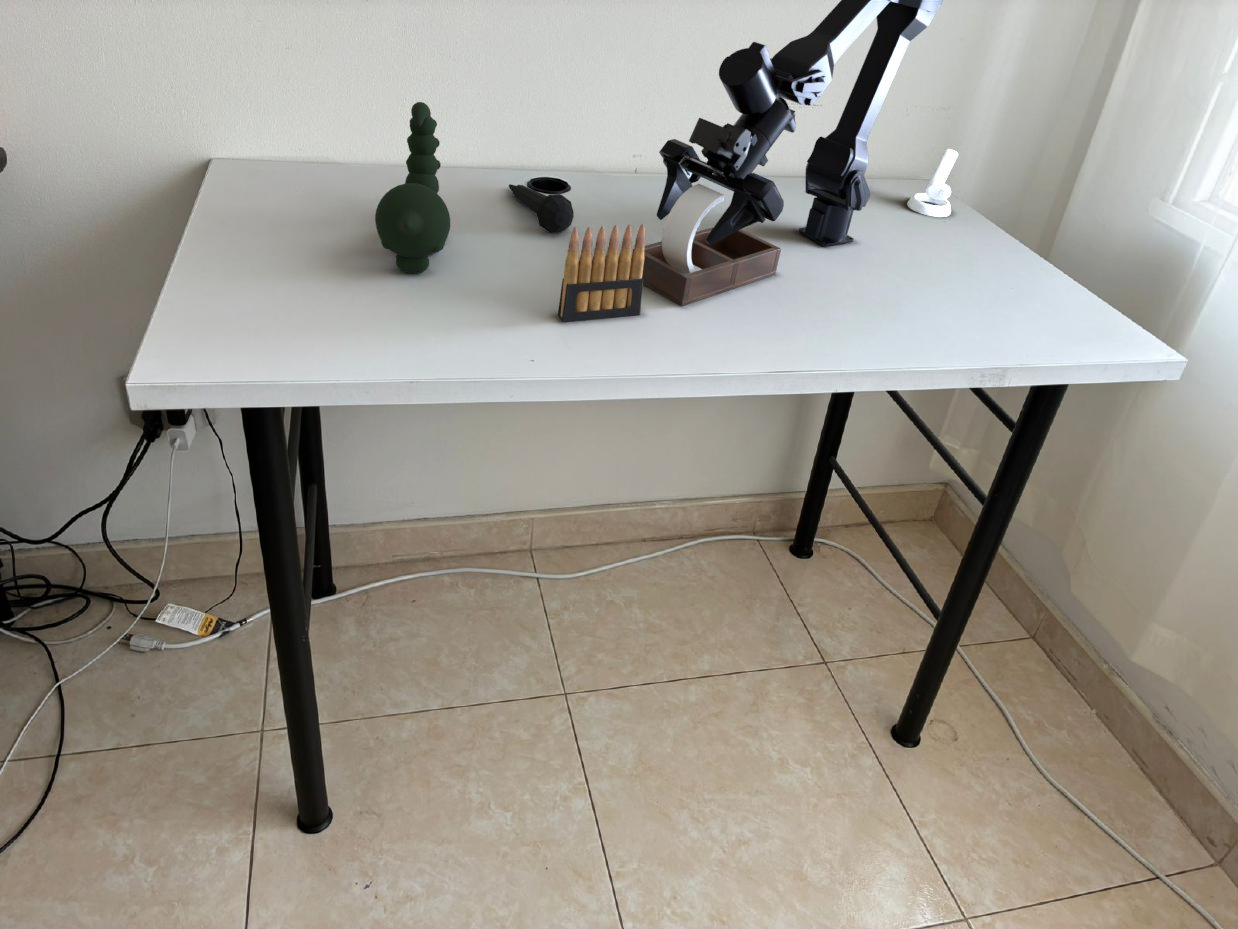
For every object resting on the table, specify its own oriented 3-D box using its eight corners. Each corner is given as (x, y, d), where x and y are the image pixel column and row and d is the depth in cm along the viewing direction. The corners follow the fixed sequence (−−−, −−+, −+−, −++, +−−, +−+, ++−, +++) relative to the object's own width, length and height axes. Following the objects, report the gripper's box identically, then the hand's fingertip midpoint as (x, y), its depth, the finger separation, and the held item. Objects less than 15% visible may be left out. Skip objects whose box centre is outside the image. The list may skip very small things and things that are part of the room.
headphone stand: (709, 278, 131) (725, 194, 124) (680, 289, 127) (695, 203, 120) (685, 266, 133) (698, 183, 126) (656, 276, 130) (668, 191, 123)
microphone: (500, 209, 153) (552, 244, 138) (489, 175, 149) (541, 207, 134) (530, 196, 154) (584, 229, 139) (520, 162, 151) (574, 192, 136)
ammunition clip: (562, 322, 118) (570, 231, 111) (557, 315, 119) (565, 224, 112) (640, 314, 122) (652, 226, 115) (634, 308, 123) (646, 220, 116)
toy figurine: (391, 227, 139) (369, 288, 118) (388, 91, 129) (364, 131, 108) (456, 232, 140) (446, 293, 119) (458, 97, 130) (447, 138, 109)
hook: (965, 171, 170) (978, 160, 163) (937, 232, 171) (949, 223, 164) (927, 154, 171) (939, 142, 164) (899, 215, 171) (909, 206, 164)
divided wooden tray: (723, 248, 142) (728, 222, 140) (775, 274, 137) (781, 248, 134) (628, 276, 131) (632, 248, 128) (681, 306, 125) (686, 278, 123)
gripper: (679, 75, 124) (608, 171, 124) (789, 117, 114) (712, 221, 113) (709, 129, 133) (643, 218, 133) (814, 172, 123) (742, 268, 123)
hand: (682, 229), depth 125 cm, fingers open, 9 cm apart
